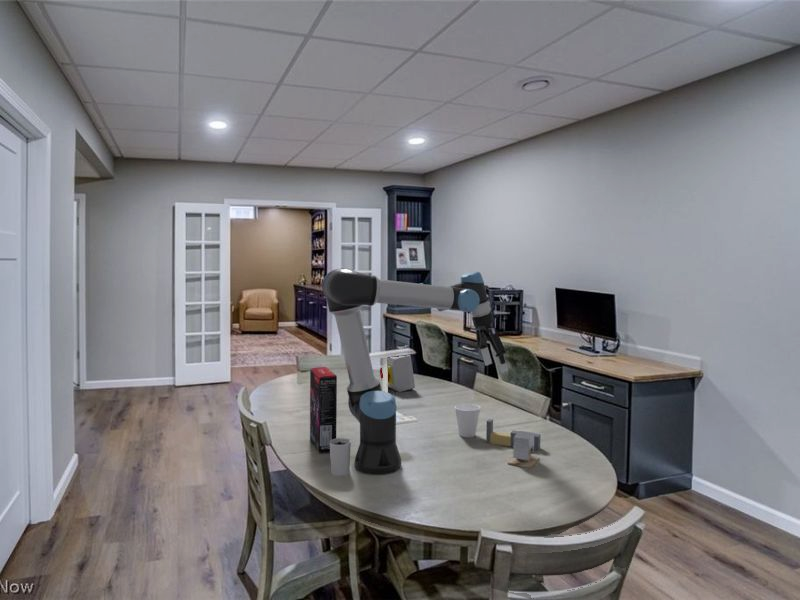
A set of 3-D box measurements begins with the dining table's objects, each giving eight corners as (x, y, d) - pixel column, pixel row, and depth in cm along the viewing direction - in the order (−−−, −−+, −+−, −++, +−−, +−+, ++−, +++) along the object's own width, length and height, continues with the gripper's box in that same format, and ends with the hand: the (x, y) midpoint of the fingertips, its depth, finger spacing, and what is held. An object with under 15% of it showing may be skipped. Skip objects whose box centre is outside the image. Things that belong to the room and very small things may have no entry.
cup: (459, 440, 206) (460, 411, 205) (450, 432, 215) (450, 404, 214) (484, 438, 208) (485, 409, 207) (474, 430, 218) (474, 403, 217)
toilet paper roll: (325, 472, 175) (325, 441, 174) (342, 466, 180) (341, 436, 179) (338, 478, 170) (338, 446, 170) (355, 472, 175) (355, 441, 174)
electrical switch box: (378, 391, 290) (372, 354, 288) (403, 384, 296) (398, 348, 294) (389, 397, 277) (383, 359, 274) (415, 390, 283) (410, 352, 280)
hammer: (486, 442, 204) (486, 421, 203) (488, 440, 206) (489, 419, 206) (538, 450, 195) (538, 428, 194) (540, 448, 198) (540, 426, 197)
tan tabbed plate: (507, 464, 182) (507, 449, 182) (515, 454, 191) (516, 440, 191) (531, 468, 179) (532, 453, 178) (539, 458, 188) (539, 444, 187)
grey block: (513, 457, 183) (513, 436, 182) (519, 450, 189) (519, 430, 189) (528, 460, 180) (528, 439, 180) (533, 453, 187) (534, 432, 186)
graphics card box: (308, 439, 206) (308, 367, 204) (327, 437, 209) (326, 366, 207) (318, 455, 190) (318, 376, 188) (338, 452, 193) (338, 375, 191)
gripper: (505, 314, 190) (521, 371, 194) (476, 307, 214) (491, 358, 218) (486, 321, 189) (502, 378, 192) (459, 313, 213) (474, 364, 216)
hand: (496, 368), depth 205 cm, fingers open, 13 cm apart
